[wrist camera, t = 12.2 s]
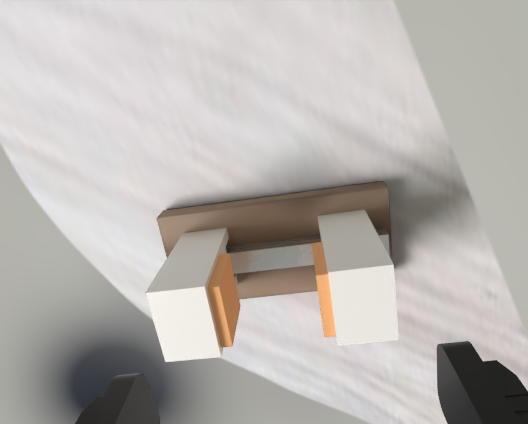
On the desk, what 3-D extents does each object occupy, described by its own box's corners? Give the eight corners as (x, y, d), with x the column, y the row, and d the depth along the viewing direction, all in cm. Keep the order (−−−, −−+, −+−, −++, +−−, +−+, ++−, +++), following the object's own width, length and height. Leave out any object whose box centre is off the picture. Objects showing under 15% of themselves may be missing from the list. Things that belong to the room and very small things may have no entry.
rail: (163, 210, 37) (109, 273, 26) (382, 181, 35) (427, 236, 24) (184, 294, 40) (144, 383, 29) (388, 272, 38) (430, 358, 27)
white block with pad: (308, 217, 35) (315, 273, 25) (364, 209, 34) (393, 264, 25) (316, 274, 36) (325, 347, 27) (369, 267, 36) (398, 339, 26)
